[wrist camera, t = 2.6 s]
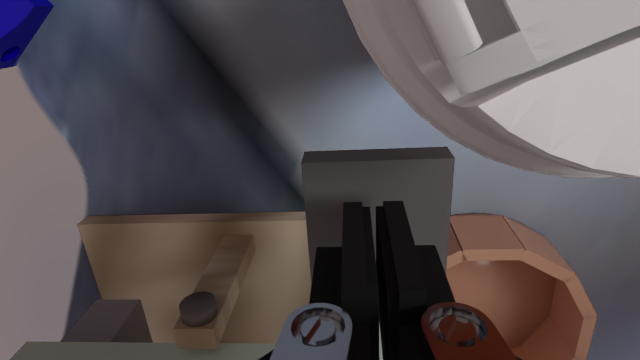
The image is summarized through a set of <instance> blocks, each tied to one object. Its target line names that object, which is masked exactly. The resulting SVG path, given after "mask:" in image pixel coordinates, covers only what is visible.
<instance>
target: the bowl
mask: <svg viewBox="0 0 640 360" xmlns="http://www.w3.org/2000/svg"><path fill="white" fill-rule="evenodd" d="M446 276H447V279H448V282H449V285H450V288H451V290H452V293H453V296H454V299H455V302H457V303H463V304H467V305H469V306H472V307H474V308H477V309H478V310H480V311H481V312H483V313H484V314H486V316H487V317H488V318H489V319H490V320H491V321H492V322H493V324H494V325H495V327H496V328H497V330H498V331H499V333H500V334H501V336H502V337H503V339H504V340H505V342H506V343H507V345H508V346H509V348H510V349H511V351H512V352H513V354H514V355H515V356H517V357H518V358H520V359H522V360H586V359H587V355H588V351H589V347H590V344H591V340H592V336H593V332H594V328H595V324H596V321H597V317H598V316H597V313H596V311H595V310H594V308H593V306H592V304H591V302H590V300H589V298H588V296H587V294H586V292H585V290H584V288H583V286H582V284H581V282H580V280H579V278H578V276H577V275H576V273H575V272H574V271H573V270H572V269H571V267H570V266H569V265H568V264H567V262H566V261H565V260H564V259H563V258H562V256H561V255H560V254H559V253H558V252H557V250H556V249H555V248H554V247H553V245H552V244H551V243H550V242H549V241H548V239H547V238H546V237H544V236H542V235H540V234H538V233H536V232H534V231H533V230H532V229H530V228H529V227H527V226H525V225H523V224H522V223H519V222H517V221H515V220H512V219H510V218H507V217H505V216H501V215H493V214H486V213H466V214H457V215H452V216H450V227H449V241H448V255H447V268H446Z"/></svg>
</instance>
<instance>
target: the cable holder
mask: <svg viewBox="0 0 640 360" xmlns="http://www.w3.org/2000/svg"><path fill="white" fill-rule="evenodd" d="M53 7H54V5H53V4H51V3H50V2H49V1H48V0H0V69H2V68H8V67H13V66H16V65H17V60H18V58H19V57H20V55H21V54H22V53H23V51H24V50H25V48H26V47H27V45H28V44H29V42H30V41H31V39H32V38H33V36H34V35H35V33H36V32H37V30H38V29H39V27H40V26H41V24H42V23H43V21H44V20H45V19H46V17H47V16H48V14H49V13H50V11H51V10H52V8H53Z"/></svg>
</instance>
